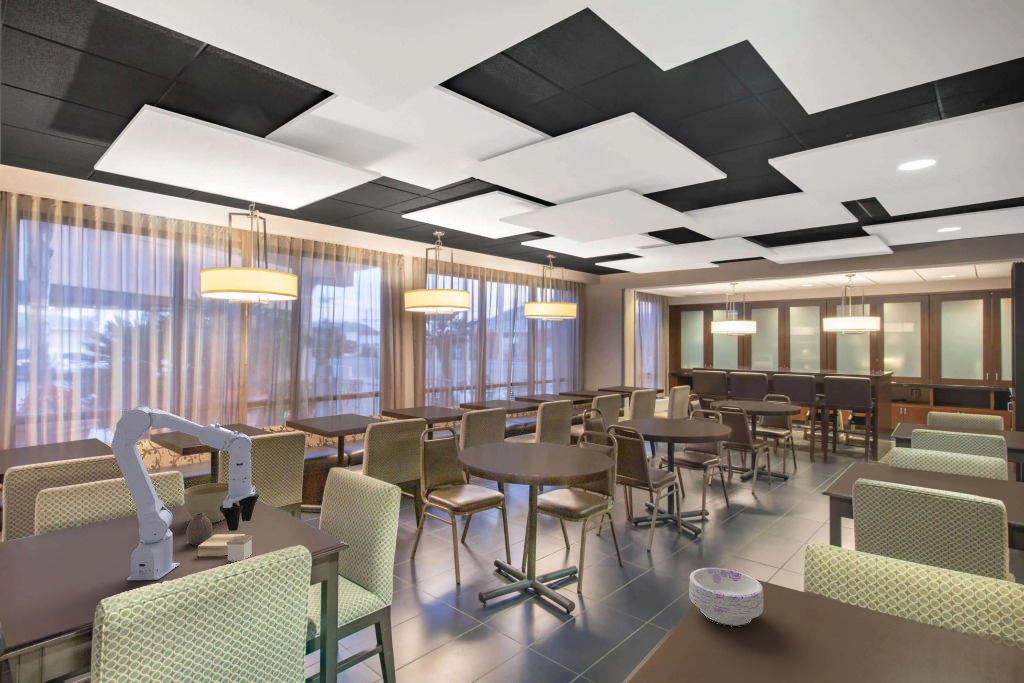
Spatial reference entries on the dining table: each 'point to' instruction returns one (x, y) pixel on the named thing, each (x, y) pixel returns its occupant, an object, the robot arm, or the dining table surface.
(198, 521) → the vase
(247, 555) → the framed cream cube
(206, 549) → the block
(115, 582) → the dining table surface
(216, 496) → the planter bowl
